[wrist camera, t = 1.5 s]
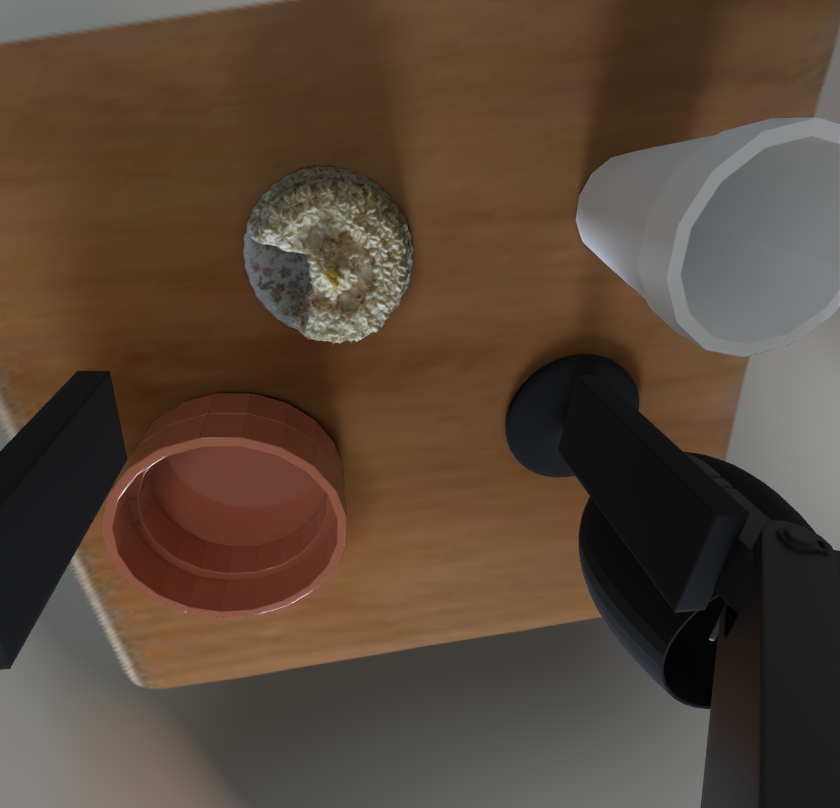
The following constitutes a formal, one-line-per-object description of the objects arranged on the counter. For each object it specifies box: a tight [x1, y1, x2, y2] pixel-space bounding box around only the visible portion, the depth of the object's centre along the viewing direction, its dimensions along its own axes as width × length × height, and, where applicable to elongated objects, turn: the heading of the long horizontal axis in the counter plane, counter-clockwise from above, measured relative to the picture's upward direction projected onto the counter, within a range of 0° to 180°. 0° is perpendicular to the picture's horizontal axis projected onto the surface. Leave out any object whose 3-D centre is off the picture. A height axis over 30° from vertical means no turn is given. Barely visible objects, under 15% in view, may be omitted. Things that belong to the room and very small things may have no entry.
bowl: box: [101, 393, 347, 618], centre depth 35 cm, size 14×14×6 cm
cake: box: [242, 165, 414, 345], centre depth 30 cm, size 10×10×5 cm
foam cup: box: [576, 117, 840, 357], centre depth 27 cm, size 10×9×13 cm
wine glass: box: [506, 355, 815, 709], centre depth 31 cm, size 10×10×20 cm
